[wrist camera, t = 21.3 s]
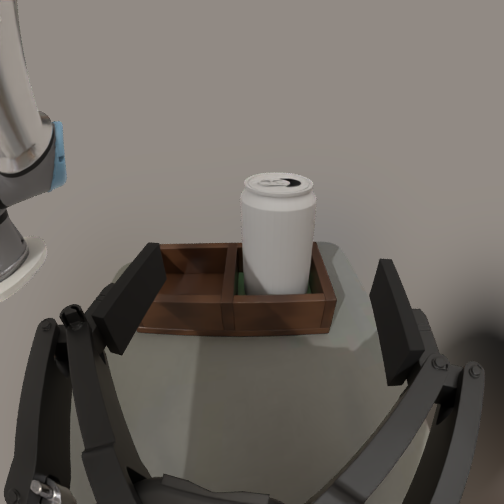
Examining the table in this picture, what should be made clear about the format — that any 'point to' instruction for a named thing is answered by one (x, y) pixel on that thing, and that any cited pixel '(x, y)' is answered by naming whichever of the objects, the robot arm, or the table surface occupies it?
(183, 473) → the table surface
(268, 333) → the wooden compartment tray
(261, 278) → the beverage can
